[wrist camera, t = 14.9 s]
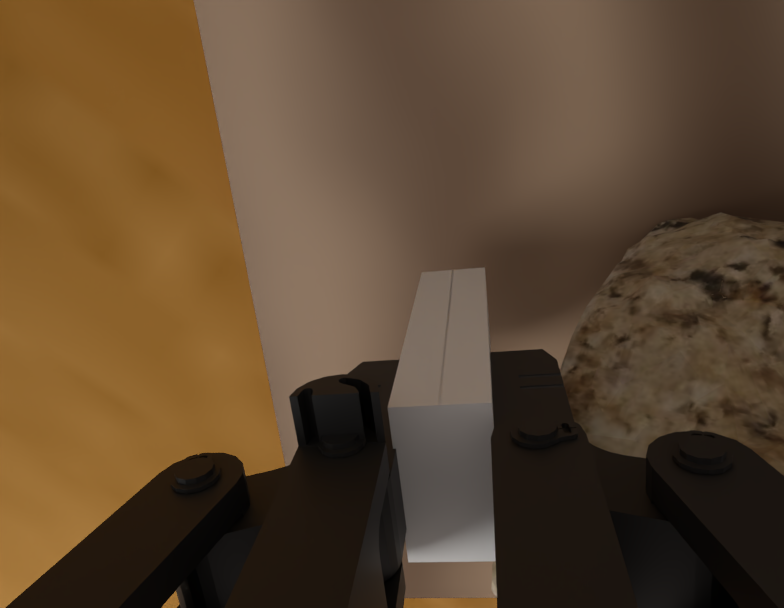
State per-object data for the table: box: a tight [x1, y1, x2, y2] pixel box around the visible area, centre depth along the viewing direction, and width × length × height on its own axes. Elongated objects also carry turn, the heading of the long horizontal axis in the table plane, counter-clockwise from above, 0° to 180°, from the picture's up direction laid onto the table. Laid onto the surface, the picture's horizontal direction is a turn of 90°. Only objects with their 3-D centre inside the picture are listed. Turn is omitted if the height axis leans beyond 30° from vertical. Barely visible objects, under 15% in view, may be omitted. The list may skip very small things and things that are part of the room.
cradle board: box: [194, 0, 784, 598], centre depth 17 cm, size 22×19×1 cm
